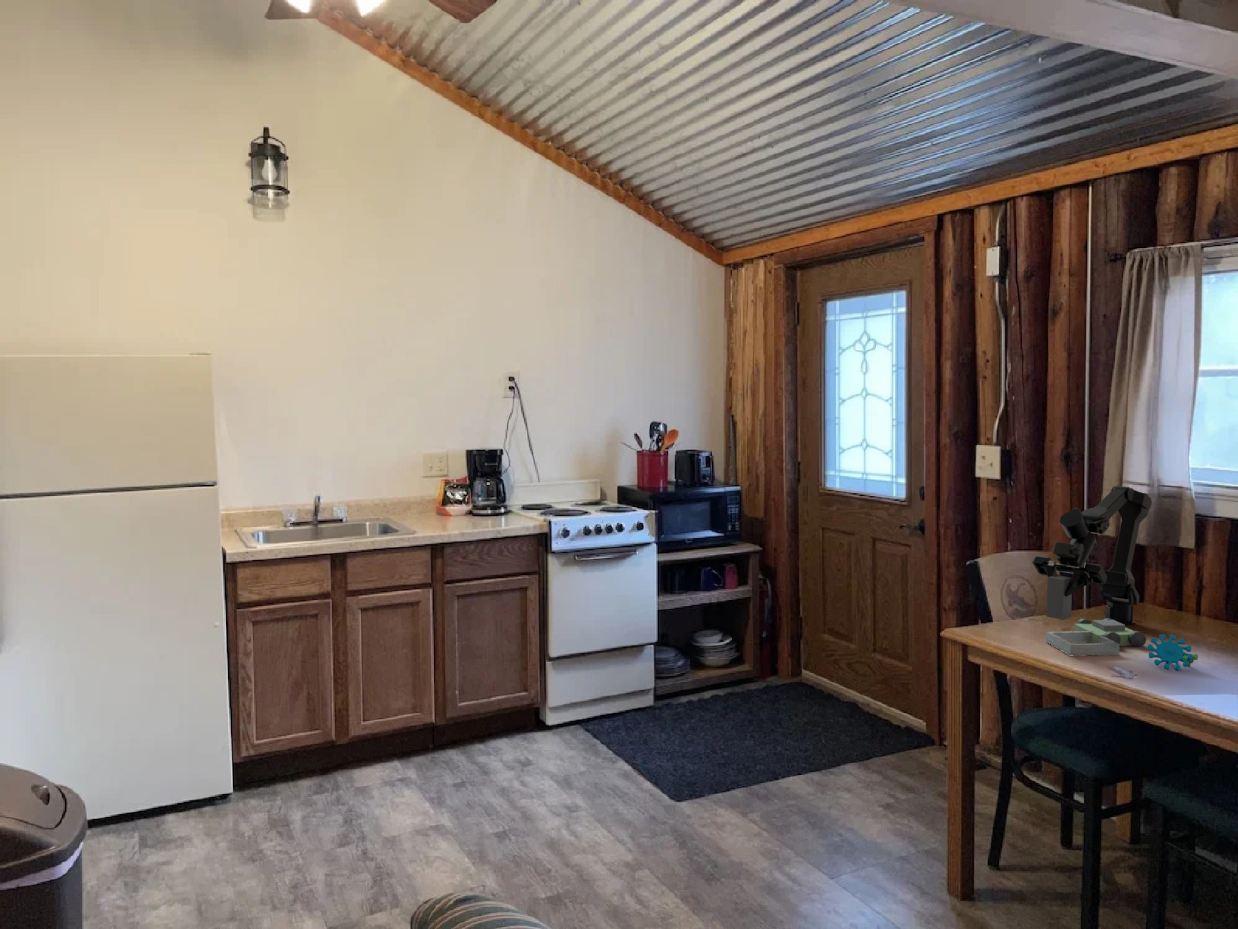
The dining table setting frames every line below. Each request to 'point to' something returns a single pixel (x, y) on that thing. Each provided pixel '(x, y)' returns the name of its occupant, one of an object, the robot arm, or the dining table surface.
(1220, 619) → the dining table surface
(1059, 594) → the grey block
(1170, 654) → the teal spiky round piece
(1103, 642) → the grey tray
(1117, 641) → the toy car
